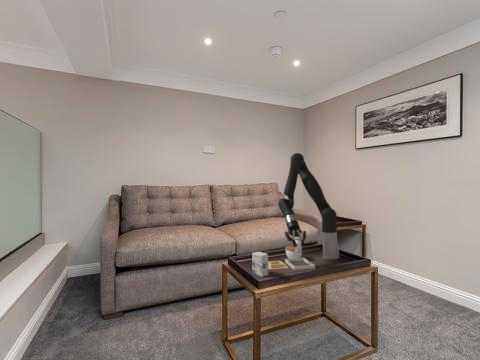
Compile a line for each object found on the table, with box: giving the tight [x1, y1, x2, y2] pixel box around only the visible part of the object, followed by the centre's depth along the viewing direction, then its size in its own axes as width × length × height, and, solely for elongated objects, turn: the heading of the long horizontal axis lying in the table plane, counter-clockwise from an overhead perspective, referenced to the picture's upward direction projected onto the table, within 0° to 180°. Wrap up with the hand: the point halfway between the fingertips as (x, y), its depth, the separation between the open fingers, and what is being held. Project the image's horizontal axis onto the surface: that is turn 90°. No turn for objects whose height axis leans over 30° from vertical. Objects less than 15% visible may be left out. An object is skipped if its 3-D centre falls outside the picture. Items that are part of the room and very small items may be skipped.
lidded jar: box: [285, 245, 303, 259], centre depth 165 cm, size 11×11×9 cm
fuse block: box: [268, 260, 289, 270], centre depth 150 cm, size 12×12×2 cm
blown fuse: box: [295, 237, 303, 253], centre depth 150 cm, size 4×4×9 cm
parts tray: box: [284, 257, 316, 271], centre depth 150 cm, size 13×17×2 cm
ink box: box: [251, 251, 269, 278], centre depth 137 cm, size 9×5×12 cm, turn 35°
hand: (299, 246), depth 148 cm, fingers closed on blown fuse, 4 cm apart
